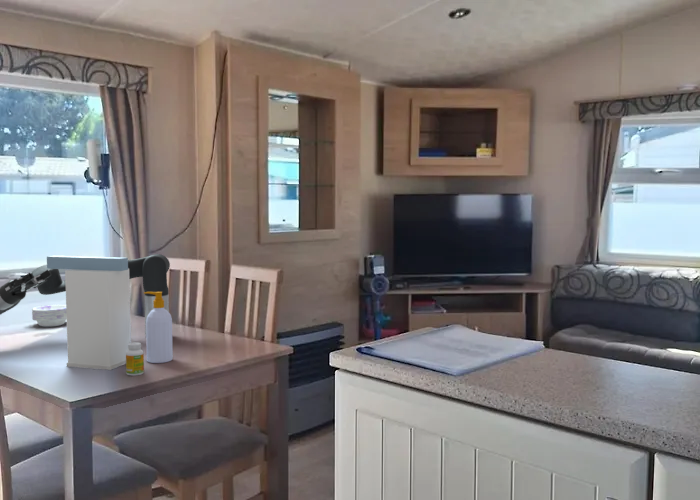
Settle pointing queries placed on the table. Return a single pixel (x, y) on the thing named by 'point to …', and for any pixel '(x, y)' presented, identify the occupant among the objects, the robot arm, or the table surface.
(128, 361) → the supplement bottle
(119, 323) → the storage box
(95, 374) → the table surface
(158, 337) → the soap bottle
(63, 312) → the paper bowls
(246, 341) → the table surface
